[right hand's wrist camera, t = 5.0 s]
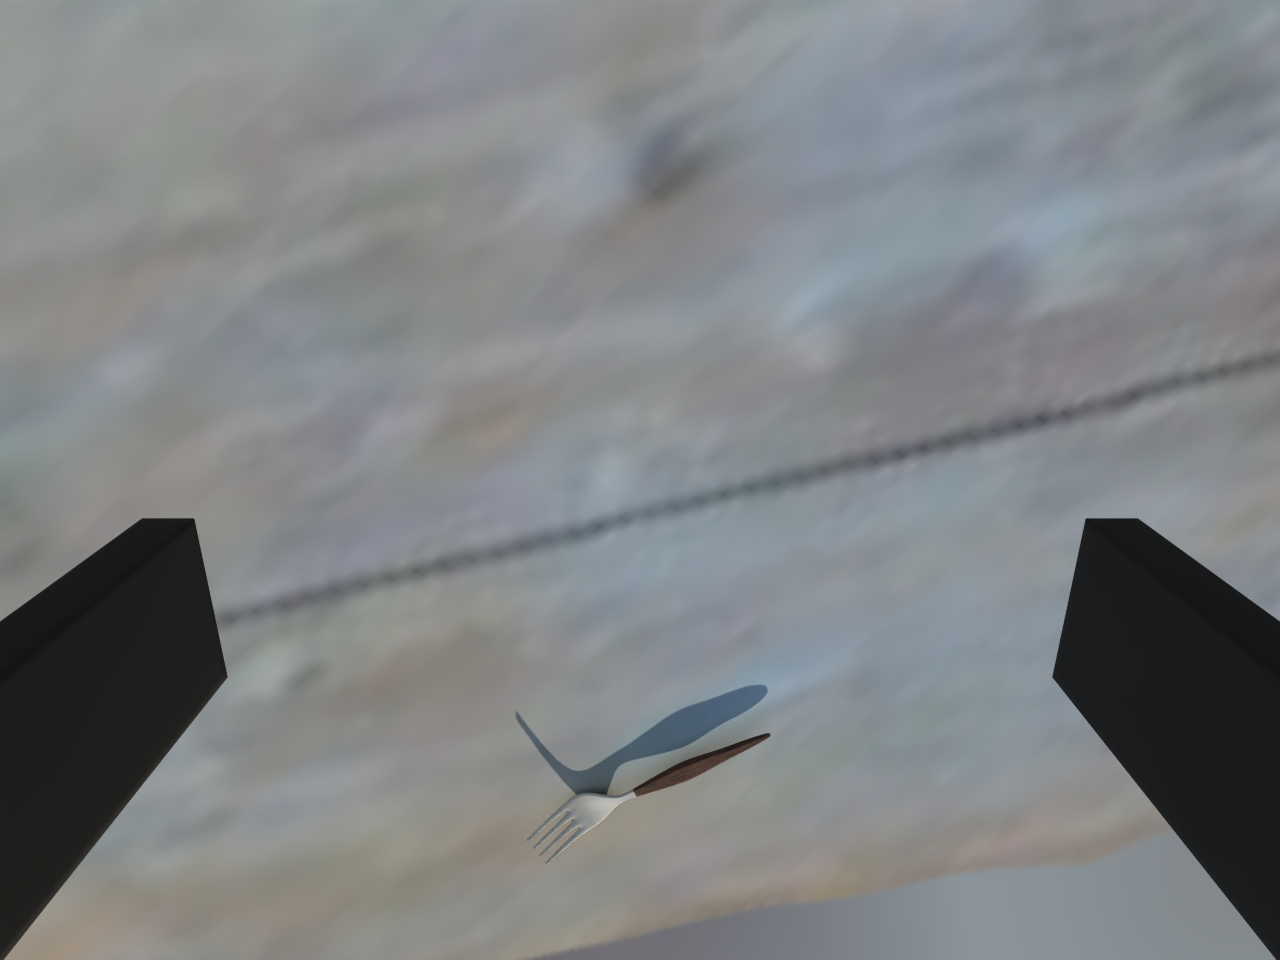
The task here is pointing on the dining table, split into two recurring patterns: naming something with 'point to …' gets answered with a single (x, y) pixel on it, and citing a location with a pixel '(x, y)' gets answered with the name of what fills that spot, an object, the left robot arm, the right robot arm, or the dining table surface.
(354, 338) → the dining table surface
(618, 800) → the fork
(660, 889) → the dining table surface
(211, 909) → the dining table surface
